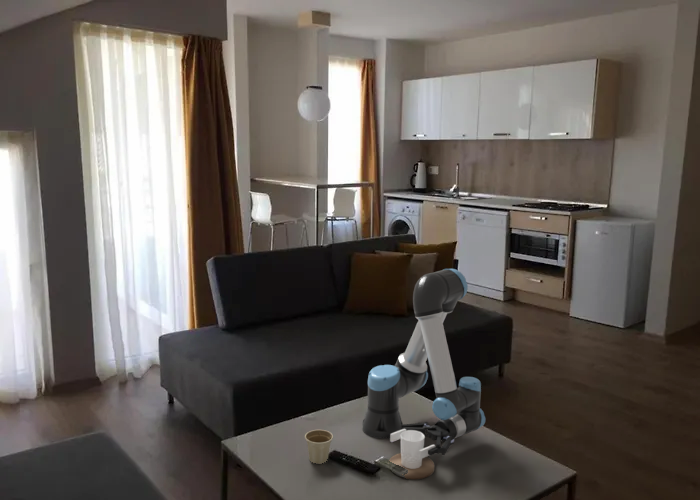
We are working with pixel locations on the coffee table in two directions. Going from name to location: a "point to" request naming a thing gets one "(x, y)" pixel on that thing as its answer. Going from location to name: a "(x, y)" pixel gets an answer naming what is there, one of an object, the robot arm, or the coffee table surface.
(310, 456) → the flower pot
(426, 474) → the walnut coaster
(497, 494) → the coffee table surface
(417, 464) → the white cup
